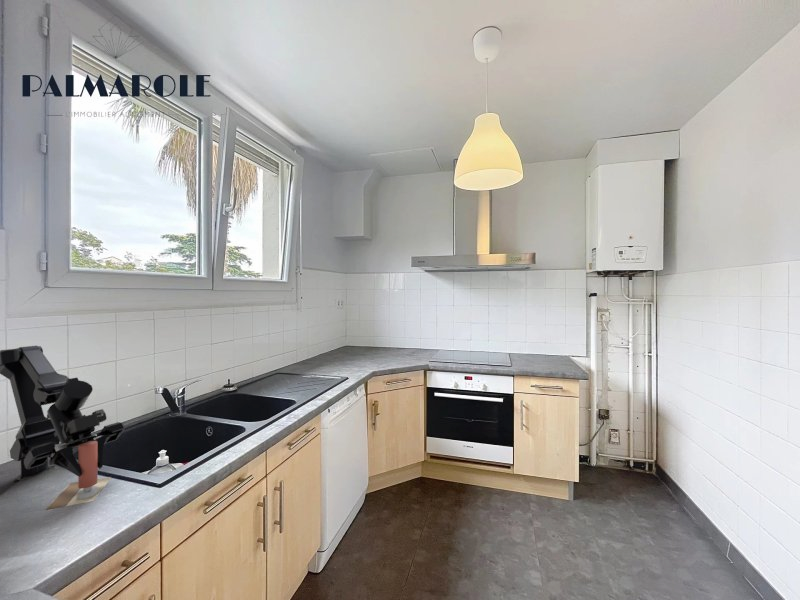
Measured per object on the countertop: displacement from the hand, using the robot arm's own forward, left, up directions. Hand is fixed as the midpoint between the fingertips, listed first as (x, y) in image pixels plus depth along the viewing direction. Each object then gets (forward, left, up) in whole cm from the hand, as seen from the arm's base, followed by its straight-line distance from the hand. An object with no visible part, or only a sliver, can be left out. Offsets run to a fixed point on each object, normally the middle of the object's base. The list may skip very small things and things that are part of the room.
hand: (91, 471), depth 86 cm
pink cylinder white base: (-1, -1, -6) cm, 7 cm away
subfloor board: (-4, -3, -8) cm, 9 cm away
